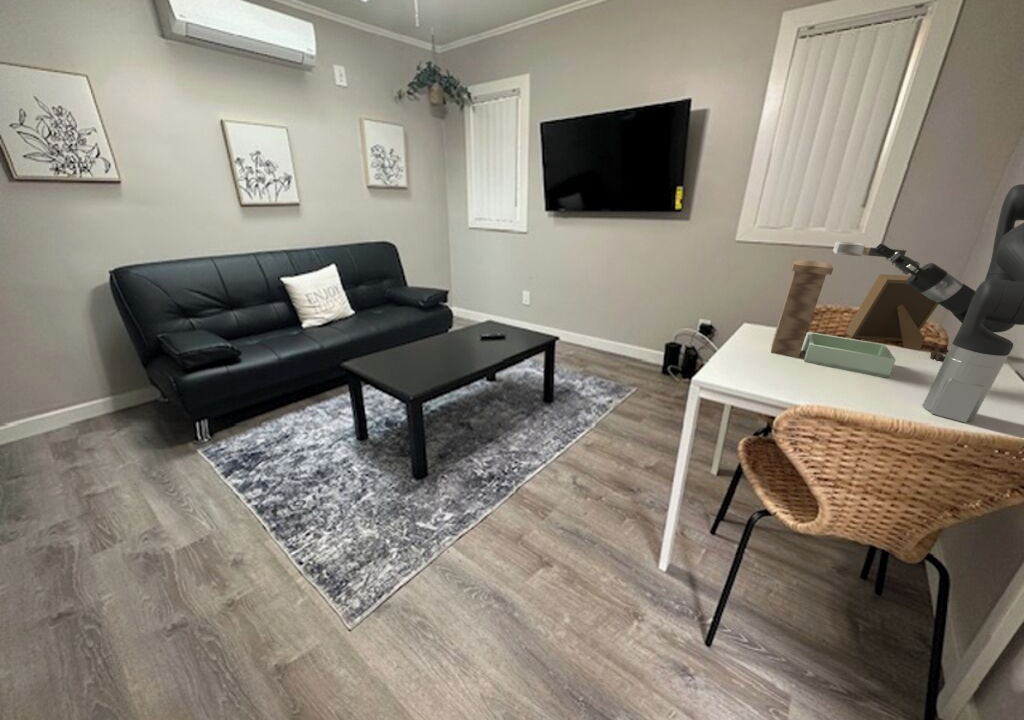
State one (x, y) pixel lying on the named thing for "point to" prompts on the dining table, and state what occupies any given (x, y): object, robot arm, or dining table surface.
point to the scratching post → (799, 306)
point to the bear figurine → (938, 355)
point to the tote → (848, 354)
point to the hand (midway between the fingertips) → (878, 247)
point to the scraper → (859, 249)
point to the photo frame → (892, 313)
